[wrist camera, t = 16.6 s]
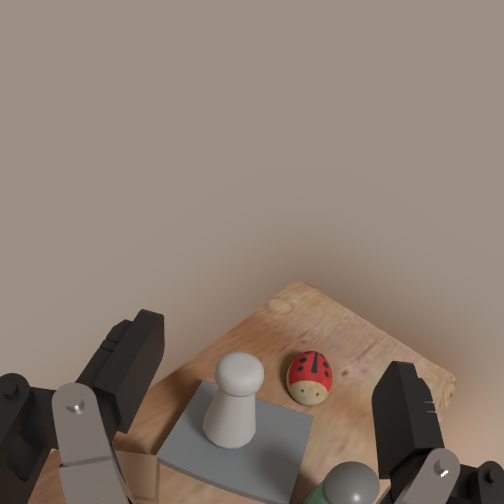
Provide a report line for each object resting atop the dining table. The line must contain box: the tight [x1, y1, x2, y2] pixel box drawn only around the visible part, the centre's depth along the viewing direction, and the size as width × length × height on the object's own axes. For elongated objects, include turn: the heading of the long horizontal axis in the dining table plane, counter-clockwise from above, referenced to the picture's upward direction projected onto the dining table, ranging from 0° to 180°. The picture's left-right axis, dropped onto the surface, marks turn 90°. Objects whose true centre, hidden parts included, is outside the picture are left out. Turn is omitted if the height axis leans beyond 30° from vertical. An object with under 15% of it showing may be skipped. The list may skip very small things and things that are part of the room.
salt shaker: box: [203, 352, 264, 449], centre depth 29 cm, size 6×6×13 cm
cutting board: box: [156, 380, 314, 504], centre depth 33 cm, size 15×13×2 cm
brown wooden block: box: [116, 450, 160, 504], centre depth 25 cm, size 5×5×4 cm
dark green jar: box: [301, 461, 380, 504], centre depth 23 cm, size 5×5×9 cm
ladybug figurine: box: [286, 351, 332, 406], centre depth 43 cm, size 7×10×4 cm
